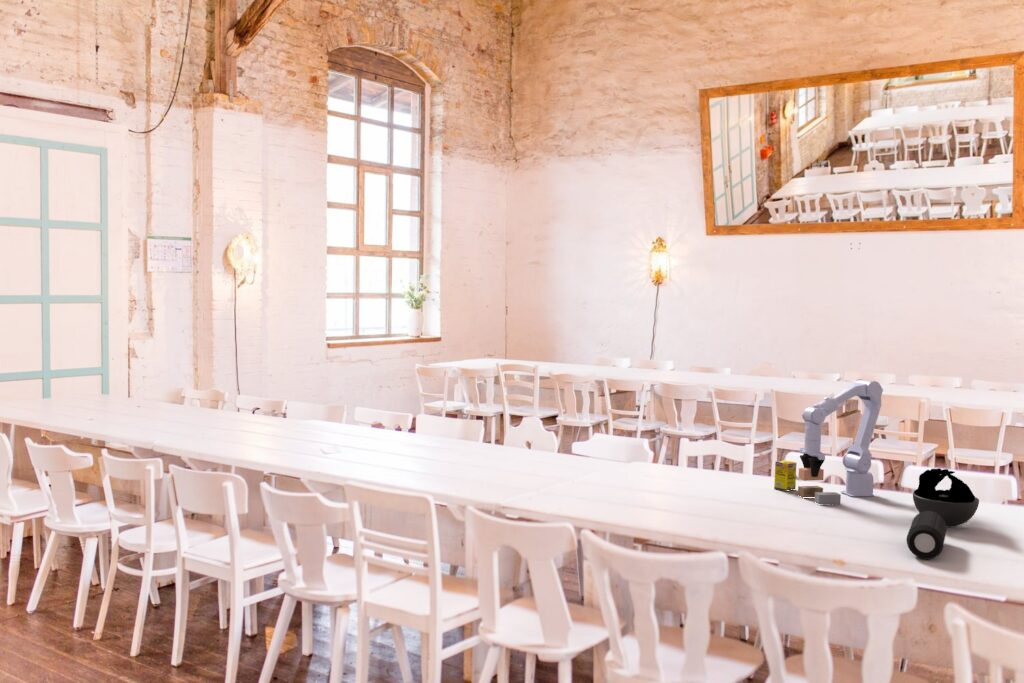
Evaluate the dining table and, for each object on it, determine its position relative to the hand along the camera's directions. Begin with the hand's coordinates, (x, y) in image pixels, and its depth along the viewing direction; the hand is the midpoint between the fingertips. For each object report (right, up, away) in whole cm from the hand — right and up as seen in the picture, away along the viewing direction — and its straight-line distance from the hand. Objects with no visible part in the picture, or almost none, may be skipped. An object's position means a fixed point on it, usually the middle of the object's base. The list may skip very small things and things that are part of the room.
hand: (811, 475), depth 350 cm
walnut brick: (0, -8, 0) cm, 8 cm away
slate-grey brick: (+3, -9, -10) cm, 14 cm away
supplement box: (-6, -8, +13) cm, 16 cm away
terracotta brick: (0, -2, 0) cm, 2 cm away
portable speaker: (+12, -13, -69) cm, 72 cm away
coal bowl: (+31, -11, -40) cm, 52 cm away
